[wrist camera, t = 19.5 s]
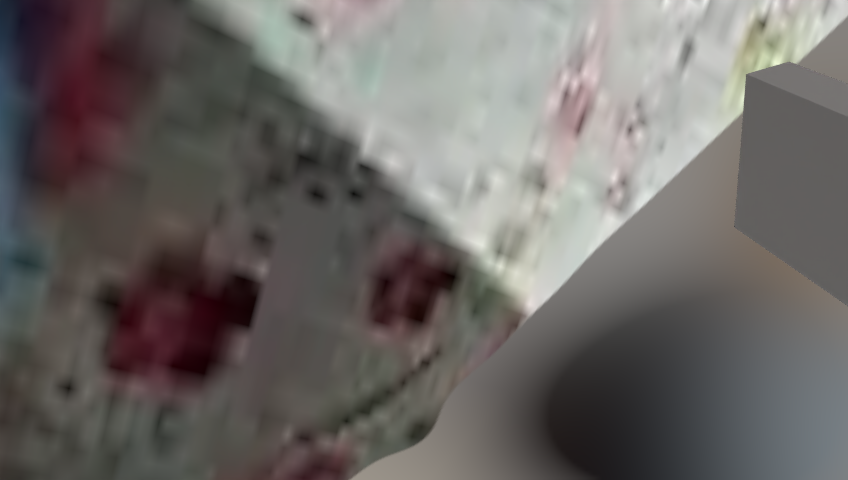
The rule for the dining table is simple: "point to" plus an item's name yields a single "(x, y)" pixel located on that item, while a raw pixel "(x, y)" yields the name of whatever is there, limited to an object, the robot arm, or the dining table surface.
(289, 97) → the dining table surface
